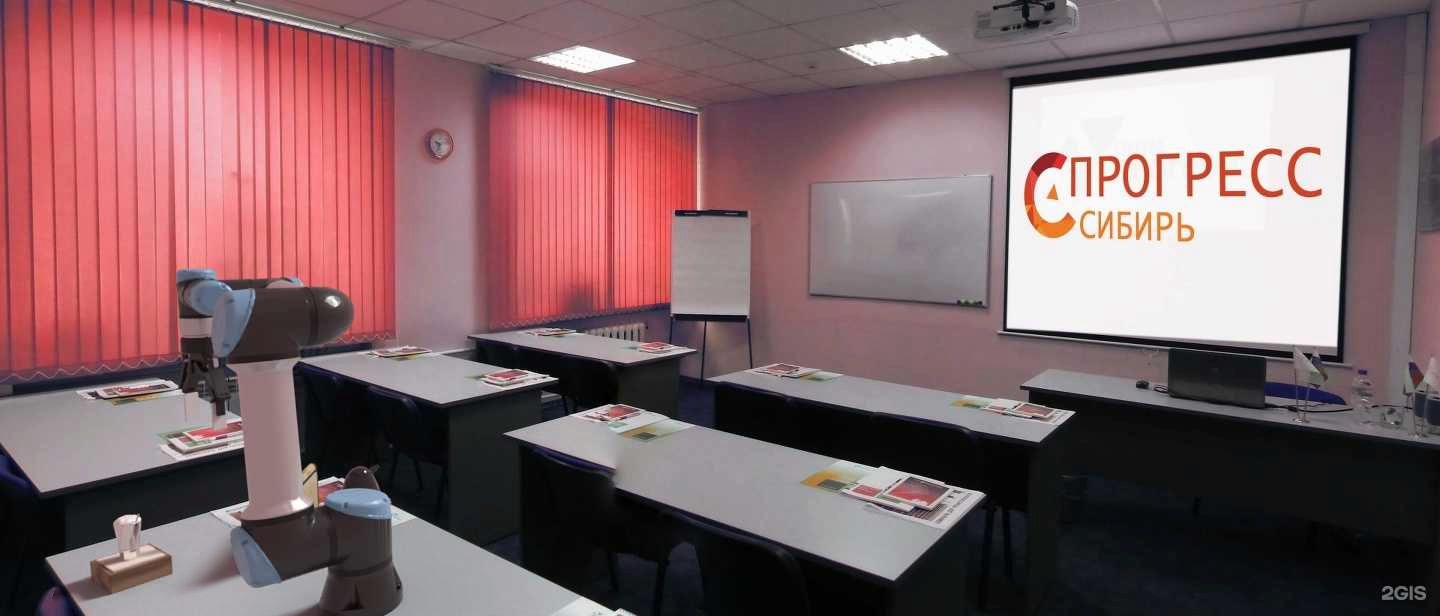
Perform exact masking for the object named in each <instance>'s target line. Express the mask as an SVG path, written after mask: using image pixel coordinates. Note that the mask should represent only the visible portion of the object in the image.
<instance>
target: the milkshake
mask: <svg viewBox="0 0 1440 616" xmlns="http://www.w3.org/2000/svg"><path fill="white" fill-rule="evenodd" d="M141 528H142V518H141V516H140V513H137V514H125V515H123V516H120V517H118V518H116V520H114V522H113V529H114V533H115V537H116V541H117V547H118V553H120V559H121V560H124V561H126V560H132V559H135V558H137V557H138V556H140V546H141V531H142V530H141Z"/></svg>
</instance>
